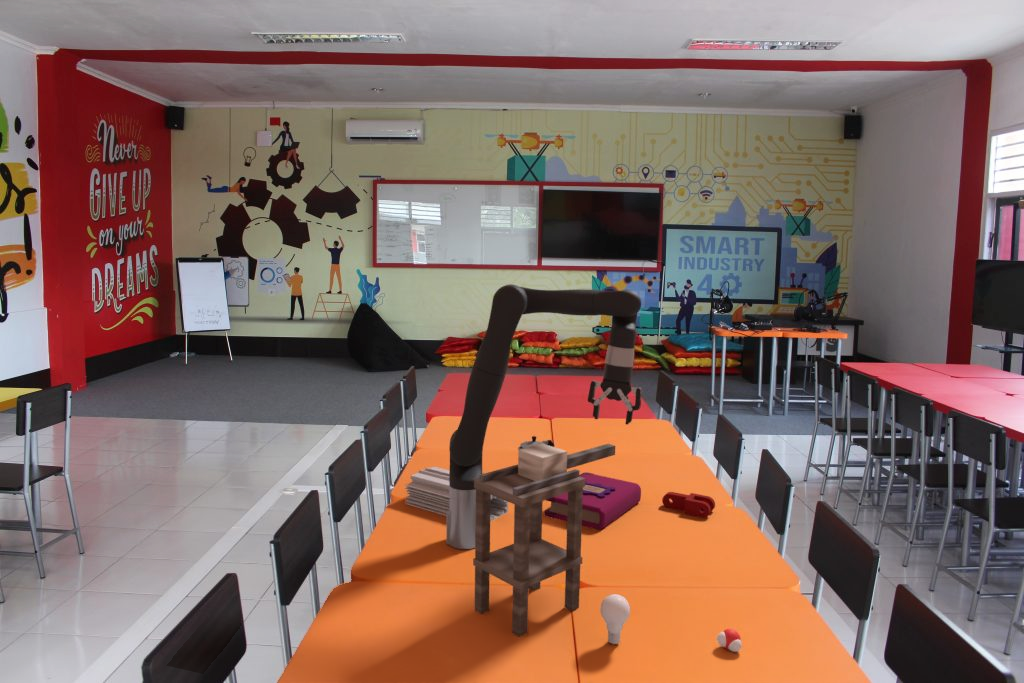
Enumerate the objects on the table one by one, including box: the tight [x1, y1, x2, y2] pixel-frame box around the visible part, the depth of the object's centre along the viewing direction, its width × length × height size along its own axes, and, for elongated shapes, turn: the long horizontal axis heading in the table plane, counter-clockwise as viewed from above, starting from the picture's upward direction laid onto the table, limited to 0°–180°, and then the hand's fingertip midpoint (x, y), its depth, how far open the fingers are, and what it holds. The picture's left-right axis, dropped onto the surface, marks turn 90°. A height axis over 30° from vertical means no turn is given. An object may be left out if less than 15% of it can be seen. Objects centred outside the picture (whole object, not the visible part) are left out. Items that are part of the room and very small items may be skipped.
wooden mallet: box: [517, 443, 616, 481], centre depth 182 cm, size 29×8×6 cm, turn 133°
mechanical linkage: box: [661, 491, 716, 519], centre depth 241 cm, size 16×7×5 cm, turn 61°
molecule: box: [716, 628, 743, 653], centre depth 162 cm, size 5×5×4 cm
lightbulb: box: [600, 593, 631, 645], centre depth 162 cm, size 6×6×11 cm
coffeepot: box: [517, 435, 555, 450], centre depth 260 cm, size 15×9×18 cm, turn 126°
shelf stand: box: [472, 464, 585, 638], centre depth 175 cm, size 20×16×34 cm
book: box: [543, 472, 642, 531], centre depth 240 cm, size 21×28×8 cm
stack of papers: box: [404, 466, 509, 522], centre depth 239 cm, size 14×31×10 cm, turn 56°
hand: (611, 421), depth 205 cm, fingers open, 8 cm apart
